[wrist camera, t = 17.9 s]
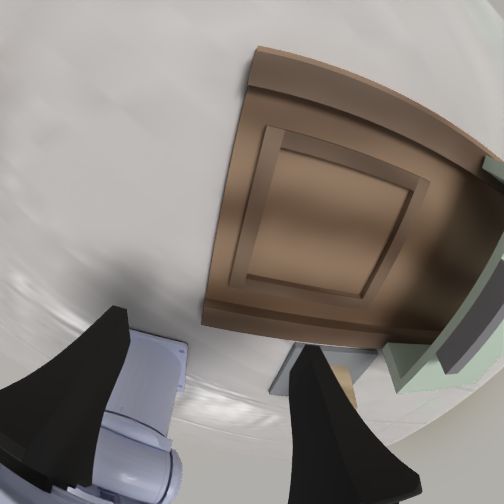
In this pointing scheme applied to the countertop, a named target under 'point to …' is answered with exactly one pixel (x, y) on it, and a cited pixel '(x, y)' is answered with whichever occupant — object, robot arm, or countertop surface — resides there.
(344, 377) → the block
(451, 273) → the puzzle board
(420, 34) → the countertop surface
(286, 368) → the mat
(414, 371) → the cover
